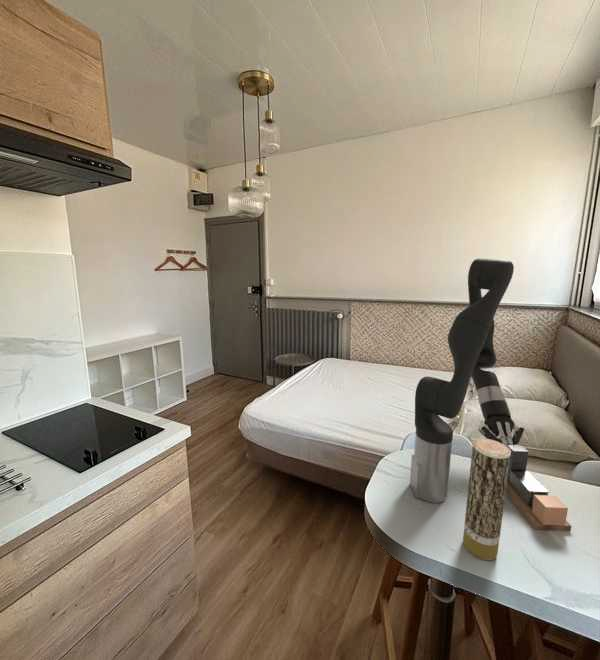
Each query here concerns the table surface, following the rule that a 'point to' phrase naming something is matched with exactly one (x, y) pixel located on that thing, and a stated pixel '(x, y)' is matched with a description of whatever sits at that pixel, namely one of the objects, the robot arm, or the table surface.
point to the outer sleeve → (525, 485)
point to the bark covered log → (486, 497)
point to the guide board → (529, 515)
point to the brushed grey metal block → (519, 463)
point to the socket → (549, 510)
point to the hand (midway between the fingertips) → (510, 460)
